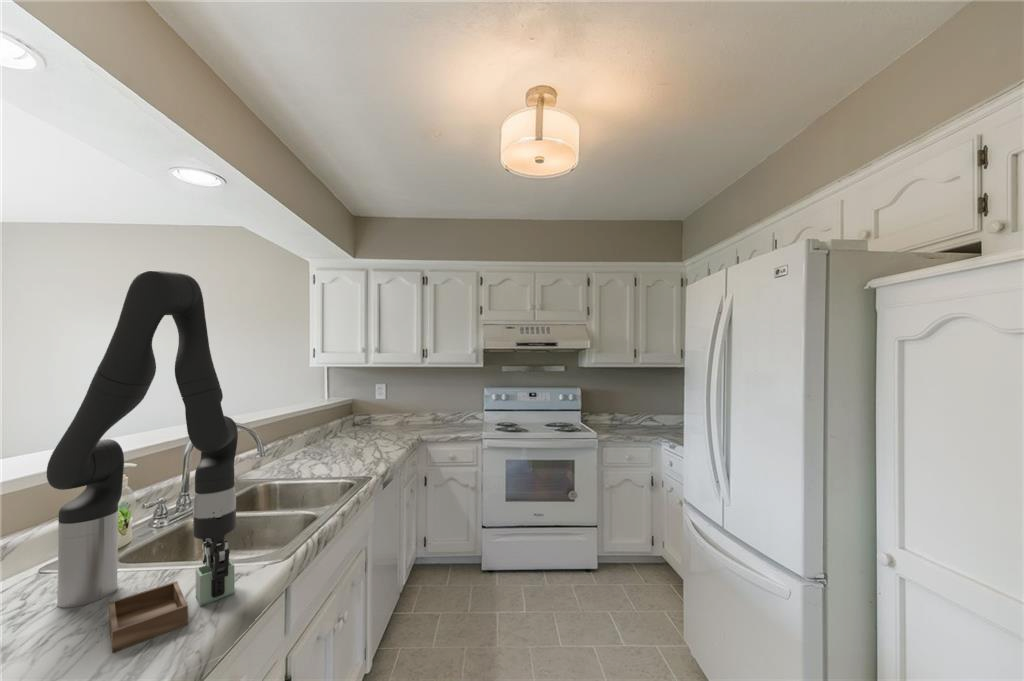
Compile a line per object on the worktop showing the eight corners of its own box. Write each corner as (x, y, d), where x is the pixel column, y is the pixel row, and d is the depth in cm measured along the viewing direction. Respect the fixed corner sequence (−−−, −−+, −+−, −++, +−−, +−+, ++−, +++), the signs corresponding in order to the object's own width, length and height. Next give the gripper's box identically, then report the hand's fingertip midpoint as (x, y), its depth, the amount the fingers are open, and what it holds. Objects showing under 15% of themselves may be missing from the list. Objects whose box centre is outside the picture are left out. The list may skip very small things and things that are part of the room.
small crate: (195, 596, 90) (195, 568, 90) (228, 585, 94) (228, 558, 94) (200, 606, 86) (200, 576, 86) (234, 593, 90) (234, 565, 91)
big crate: (109, 620, 82) (109, 602, 82) (176, 597, 90) (176, 580, 90) (112, 652, 73) (112, 632, 73) (187, 624, 80) (187, 605, 80)
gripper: (187, 507, 93) (187, 586, 92) (200, 524, 83) (200, 612, 82) (227, 498, 98) (227, 572, 98) (244, 513, 88) (244, 596, 88)
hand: (215, 590), depth 90 cm, fingers closed on small crate, 5 cm apart
